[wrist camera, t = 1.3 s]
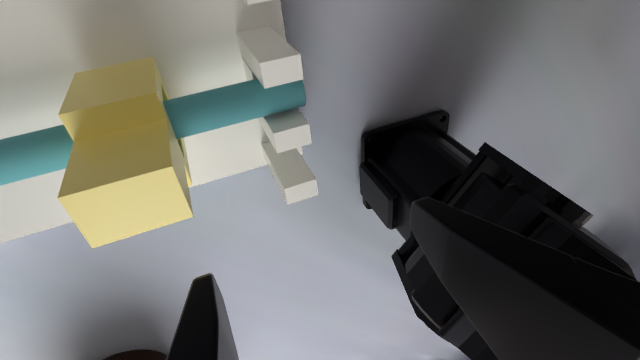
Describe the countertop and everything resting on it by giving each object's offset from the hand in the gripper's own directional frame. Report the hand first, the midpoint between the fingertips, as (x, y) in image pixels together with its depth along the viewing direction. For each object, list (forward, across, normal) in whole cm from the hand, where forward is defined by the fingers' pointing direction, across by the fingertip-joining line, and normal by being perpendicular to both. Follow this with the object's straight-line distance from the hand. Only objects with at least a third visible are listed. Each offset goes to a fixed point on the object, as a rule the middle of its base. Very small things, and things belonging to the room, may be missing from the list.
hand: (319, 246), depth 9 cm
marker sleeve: (+11, +5, 0) cm, 12 cm away
